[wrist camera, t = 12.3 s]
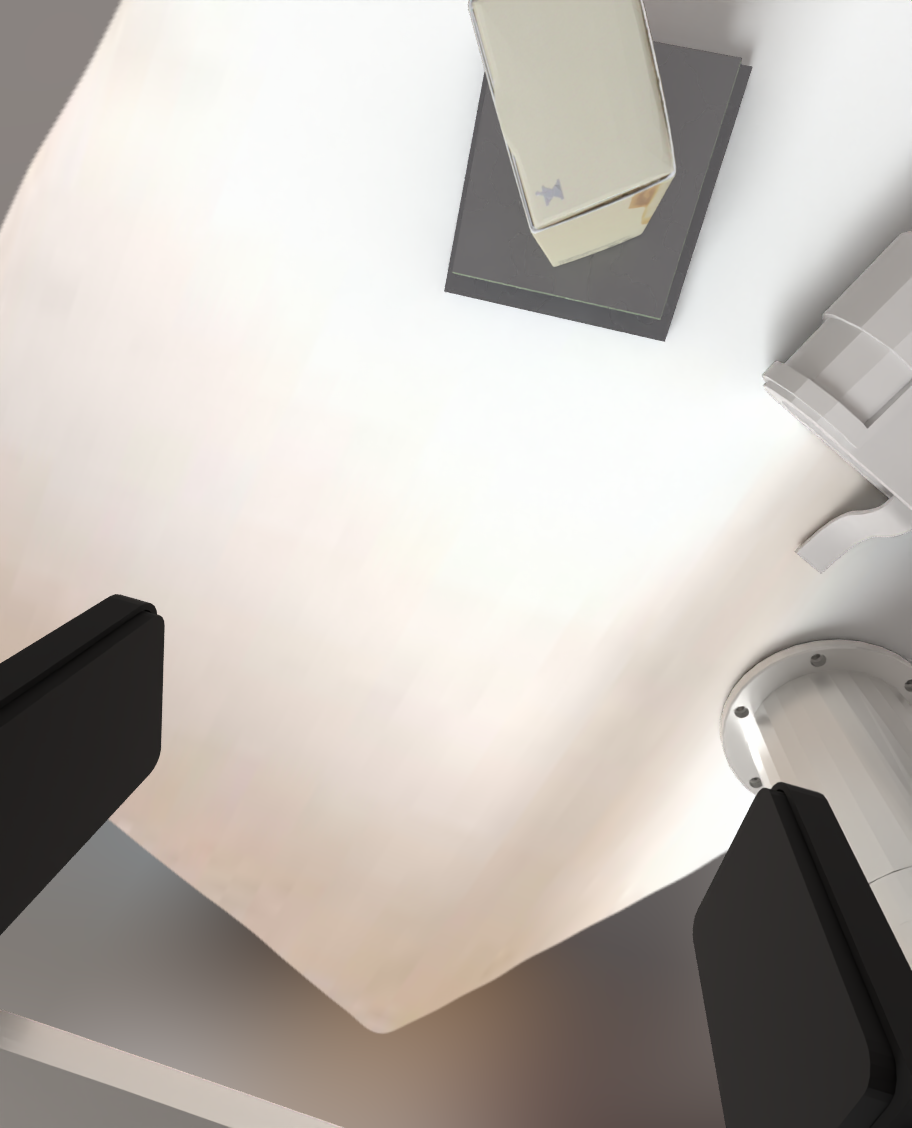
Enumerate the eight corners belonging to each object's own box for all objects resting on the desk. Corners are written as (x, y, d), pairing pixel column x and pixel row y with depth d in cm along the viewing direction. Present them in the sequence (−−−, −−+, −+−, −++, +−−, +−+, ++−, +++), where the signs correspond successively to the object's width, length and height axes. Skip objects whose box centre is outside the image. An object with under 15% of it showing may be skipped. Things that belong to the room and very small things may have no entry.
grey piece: (747, 73, 30) (776, 32, 26) (662, 340, 35) (674, 345, 30) (496, 26, 31) (482, -22, 27) (447, 291, 36) (428, 289, 31)
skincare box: (645, 234, 29) (686, 188, 18) (550, 270, 30) (532, 249, 19) (609, 71, 27) (628, -95, 16) (509, 117, 28) (462, -8, 17)
